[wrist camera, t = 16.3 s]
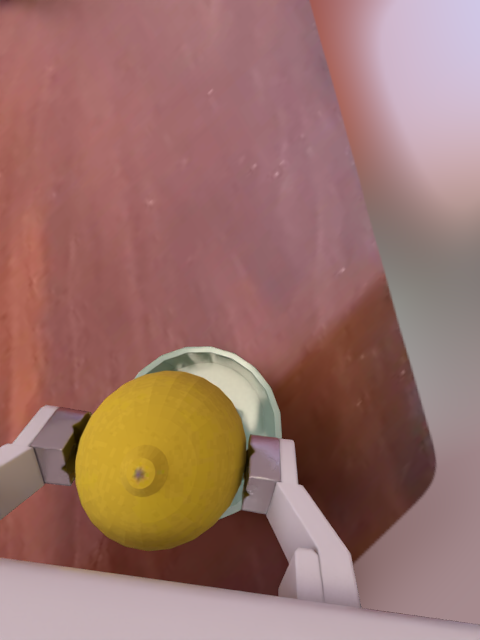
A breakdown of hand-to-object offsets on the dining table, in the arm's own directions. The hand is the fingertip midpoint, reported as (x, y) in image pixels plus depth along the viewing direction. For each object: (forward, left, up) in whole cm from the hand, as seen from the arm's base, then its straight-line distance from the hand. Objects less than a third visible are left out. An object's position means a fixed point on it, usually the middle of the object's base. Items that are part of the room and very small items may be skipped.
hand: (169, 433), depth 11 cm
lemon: (-1, 0, -5) cm, 5 cm away
